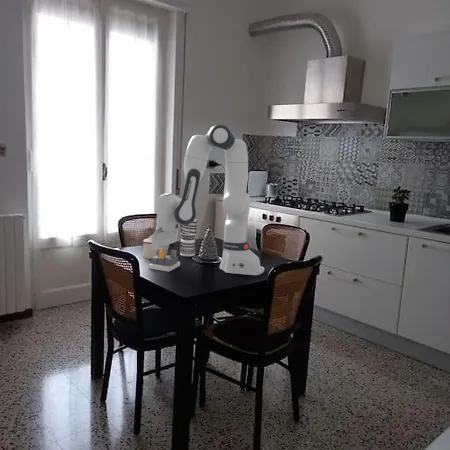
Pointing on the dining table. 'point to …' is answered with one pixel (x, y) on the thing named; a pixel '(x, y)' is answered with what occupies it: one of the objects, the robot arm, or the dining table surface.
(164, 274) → the dining table surface
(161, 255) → the breaker handle
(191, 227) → the decorative candle
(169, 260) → the slab with raised knobs
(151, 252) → the teacup with lid
